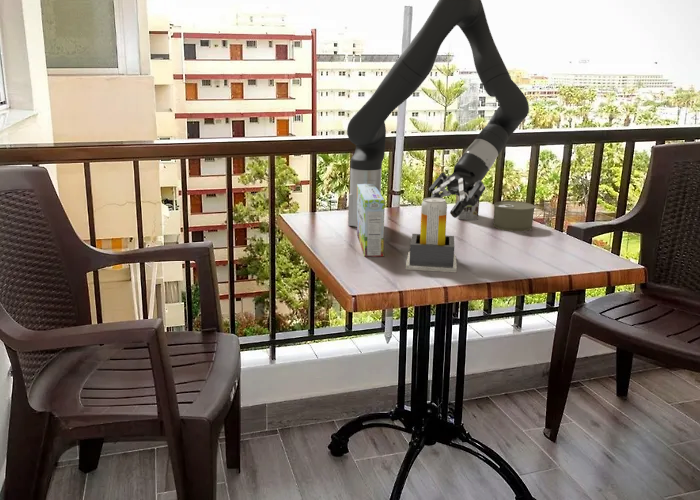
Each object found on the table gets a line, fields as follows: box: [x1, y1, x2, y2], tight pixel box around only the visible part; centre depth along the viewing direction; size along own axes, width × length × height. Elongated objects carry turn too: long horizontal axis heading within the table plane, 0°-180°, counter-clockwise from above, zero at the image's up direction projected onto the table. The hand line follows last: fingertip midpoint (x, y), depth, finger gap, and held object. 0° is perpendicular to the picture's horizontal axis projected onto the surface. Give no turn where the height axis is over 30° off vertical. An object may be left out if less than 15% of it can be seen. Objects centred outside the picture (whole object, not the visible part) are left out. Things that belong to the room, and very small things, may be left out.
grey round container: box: [492, 200, 536, 232], centre depth 200 cm, size 12×12×7 cm
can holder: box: [405, 233, 458, 273], centre depth 162 cm, size 12×12×6 cm
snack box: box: [356, 184, 386, 258], centre depth 175 cm, size 21×6×15 cm, turn 5°
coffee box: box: [455, 190, 481, 221], centre depth 210 cm, size 9×6×16 cm
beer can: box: [419, 197, 448, 245], centre depth 160 cm, size 6×6×15 cm
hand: (440, 212), depth 160 cm, fingers open, 8 cm apart
